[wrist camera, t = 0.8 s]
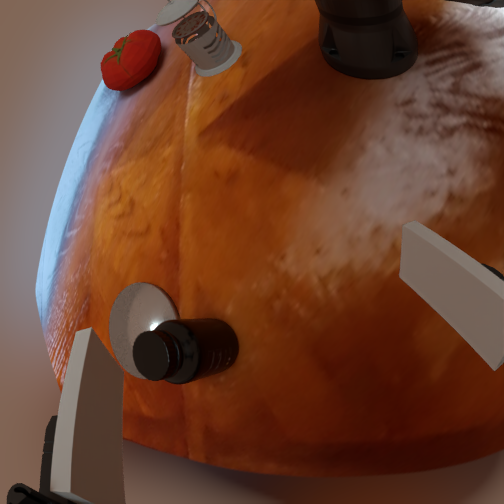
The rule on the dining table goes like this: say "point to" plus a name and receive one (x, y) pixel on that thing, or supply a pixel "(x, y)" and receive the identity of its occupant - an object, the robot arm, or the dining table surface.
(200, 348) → the supplement bottle
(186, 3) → the french press
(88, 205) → the dining table surface
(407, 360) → the dining table surface
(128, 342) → the hub disc
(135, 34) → the tomato
